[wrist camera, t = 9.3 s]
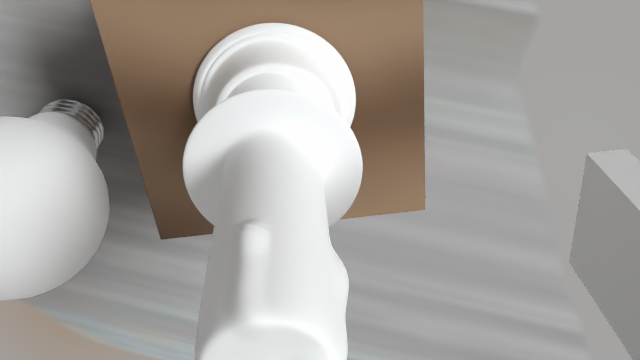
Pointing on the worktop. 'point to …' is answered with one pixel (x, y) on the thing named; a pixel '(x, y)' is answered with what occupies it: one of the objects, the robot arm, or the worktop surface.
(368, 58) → the small wooden table
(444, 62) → the worktop surface
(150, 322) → the worktop surface
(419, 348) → the worktop surface
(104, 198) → the light bulb
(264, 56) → the candle
